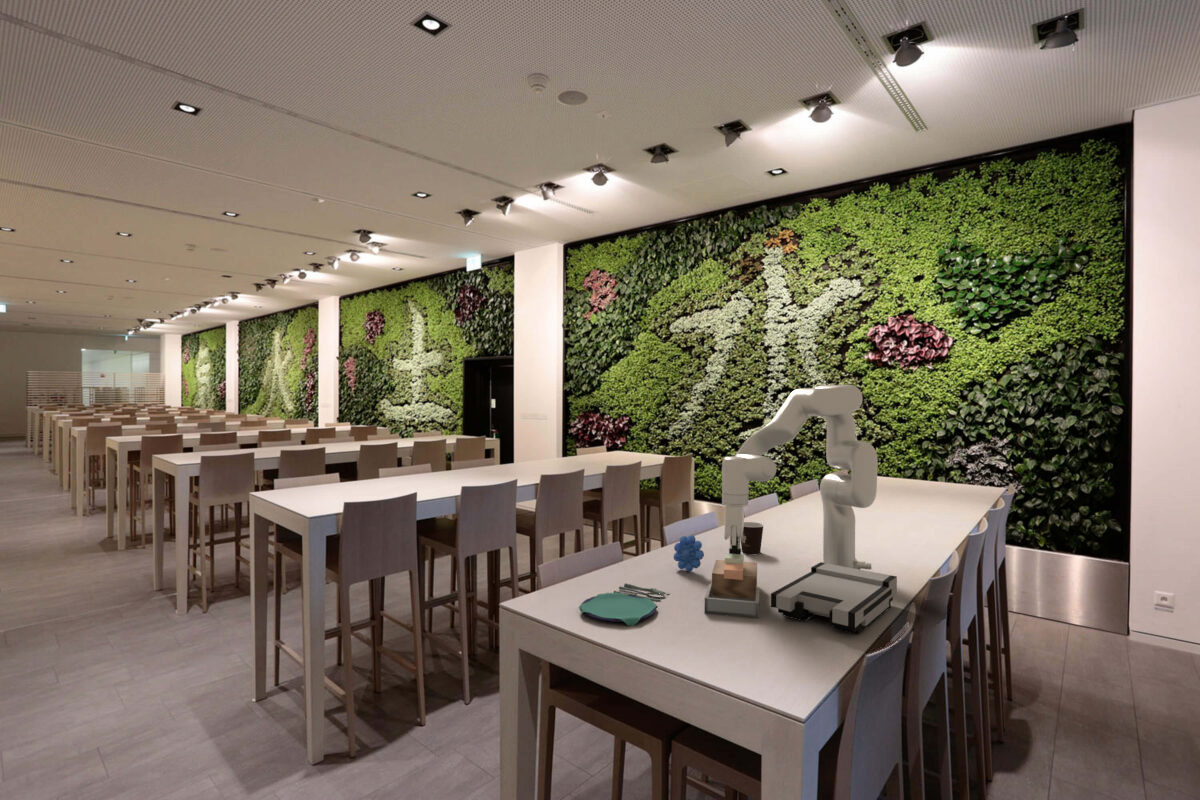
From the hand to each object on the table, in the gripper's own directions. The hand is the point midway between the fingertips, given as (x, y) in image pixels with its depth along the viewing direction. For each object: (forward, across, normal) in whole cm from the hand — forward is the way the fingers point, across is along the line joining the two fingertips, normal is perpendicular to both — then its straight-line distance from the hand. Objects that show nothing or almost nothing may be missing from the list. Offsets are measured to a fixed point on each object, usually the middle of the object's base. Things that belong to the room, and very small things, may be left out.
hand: (734, 561), depth 177 cm
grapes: (+8, -15, -15) cm, 23 cm away
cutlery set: (+9, +21, -27) cm, 36 cm away
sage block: (+1, +5, 0) cm, 5 cm away
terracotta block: (+1, +10, 0) cm, 10 cm away
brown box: (+8, +2, 0) cm, 8 cm away
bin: (+8, +15, 0) cm, 17 cm away
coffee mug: (+8, -45, +3) cm, 46 cm away
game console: (+9, +11, +26) cm, 30 cm away
